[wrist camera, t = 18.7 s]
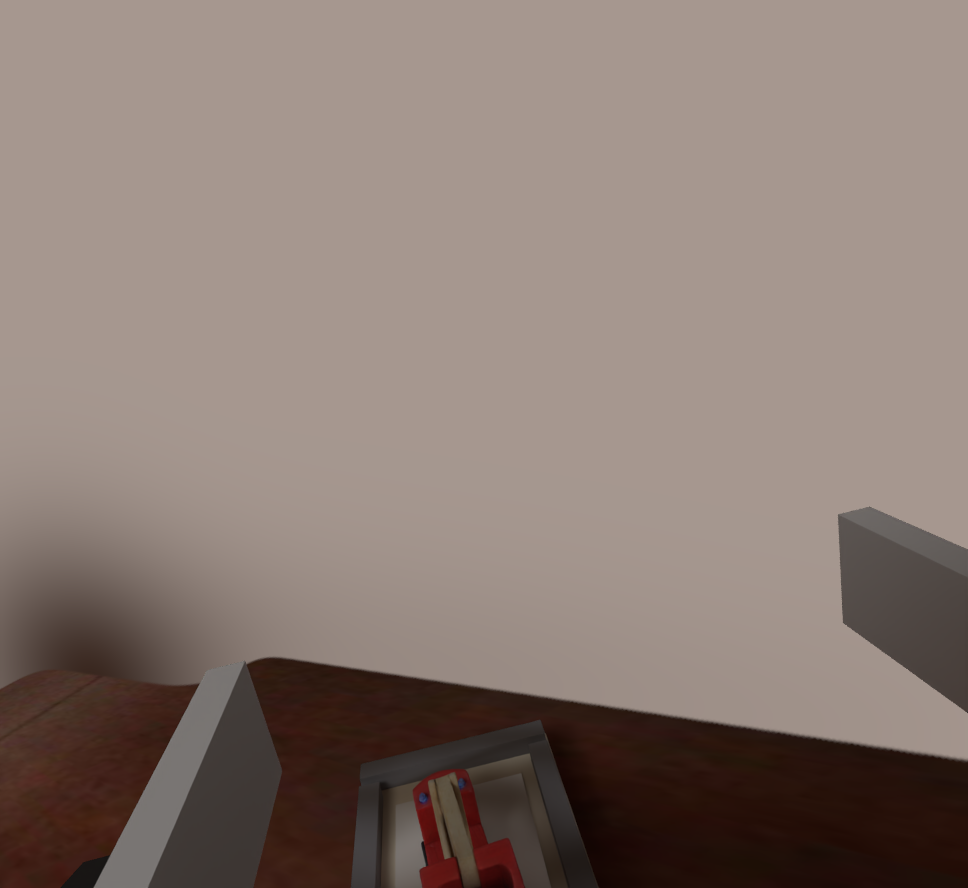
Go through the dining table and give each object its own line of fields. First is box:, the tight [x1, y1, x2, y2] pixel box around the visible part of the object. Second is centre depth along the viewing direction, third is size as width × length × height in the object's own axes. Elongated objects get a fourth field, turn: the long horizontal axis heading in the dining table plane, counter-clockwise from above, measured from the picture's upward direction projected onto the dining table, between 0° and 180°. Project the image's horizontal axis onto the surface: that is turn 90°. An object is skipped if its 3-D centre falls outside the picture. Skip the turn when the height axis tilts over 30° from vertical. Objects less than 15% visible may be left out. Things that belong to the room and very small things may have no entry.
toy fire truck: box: [413, 769, 525, 888], centre depth 26 cm, size 3×14×10 cm, turn 16°
